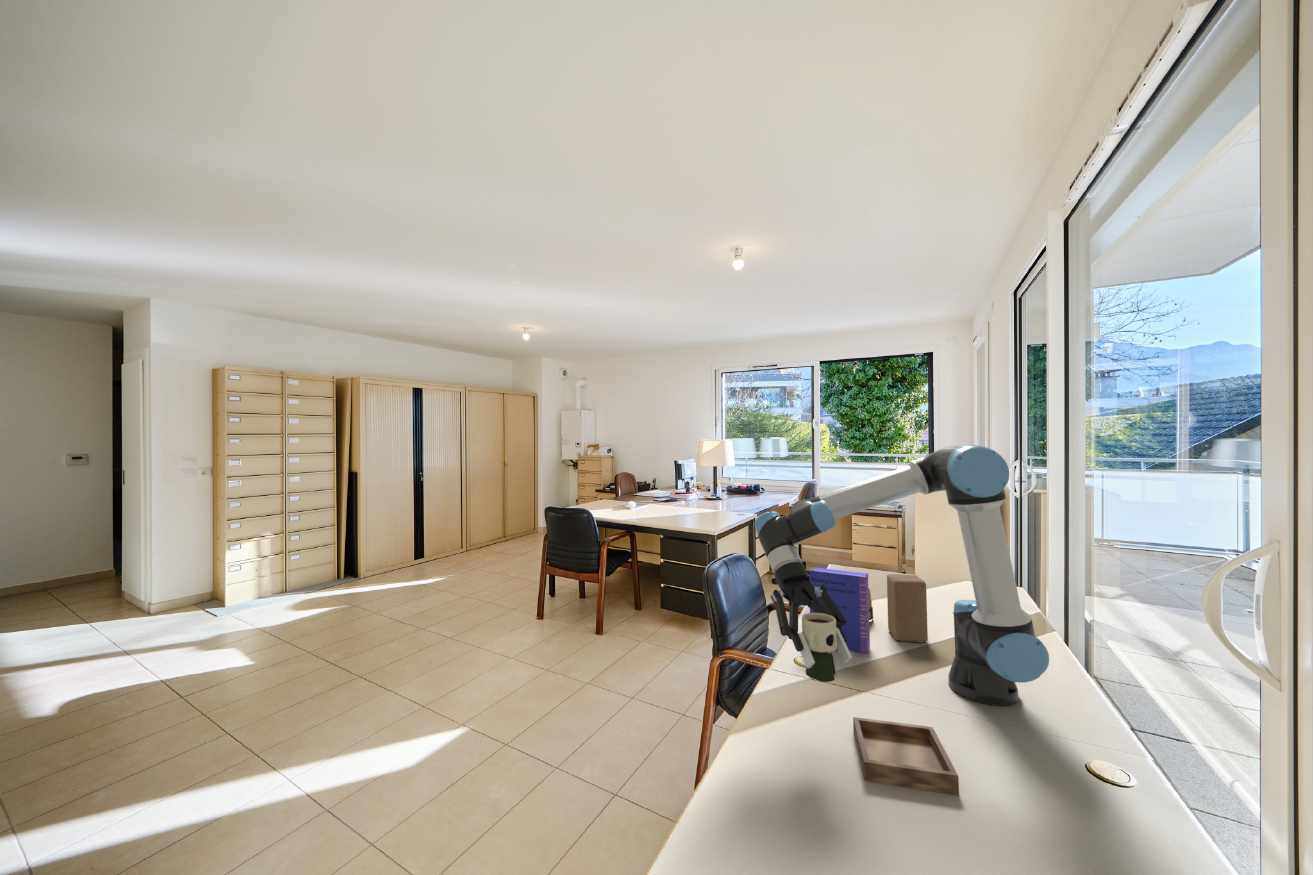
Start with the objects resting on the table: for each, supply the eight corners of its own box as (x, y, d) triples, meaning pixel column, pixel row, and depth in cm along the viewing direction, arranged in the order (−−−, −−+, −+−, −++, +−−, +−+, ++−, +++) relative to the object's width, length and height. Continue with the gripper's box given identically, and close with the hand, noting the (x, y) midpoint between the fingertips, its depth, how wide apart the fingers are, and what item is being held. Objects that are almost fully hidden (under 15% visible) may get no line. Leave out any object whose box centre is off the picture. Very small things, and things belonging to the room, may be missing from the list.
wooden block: (928, 643, 155) (927, 582, 156) (895, 641, 157) (894, 580, 158) (918, 632, 165) (916, 574, 166) (887, 630, 167) (885, 573, 168)
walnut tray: (933, 743, 103) (932, 726, 103) (959, 795, 87) (958, 775, 87) (853, 732, 107) (853, 716, 107) (864, 780, 91) (864, 761, 92)
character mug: (830, 693, 97) (828, 628, 98) (796, 683, 102) (794, 622, 102) (844, 672, 106) (842, 613, 107) (812, 664, 110) (810, 608, 111)
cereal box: (869, 648, 152) (868, 572, 153) (867, 653, 148) (865, 576, 149) (814, 637, 161) (812, 566, 162) (810, 642, 157) (809, 569, 158)
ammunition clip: (860, 628, 170) (859, 594, 170) (855, 626, 171) (854, 593, 171) (873, 620, 177) (872, 588, 177) (868, 619, 178) (867, 587, 179)
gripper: (819, 573, 122) (864, 663, 106) (744, 580, 117) (779, 676, 101) (831, 556, 117) (880, 648, 101) (753, 563, 112) (791, 661, 96)
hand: (829, 662), depth 101 cm, fingers closed on character mug, 8 cm apart
